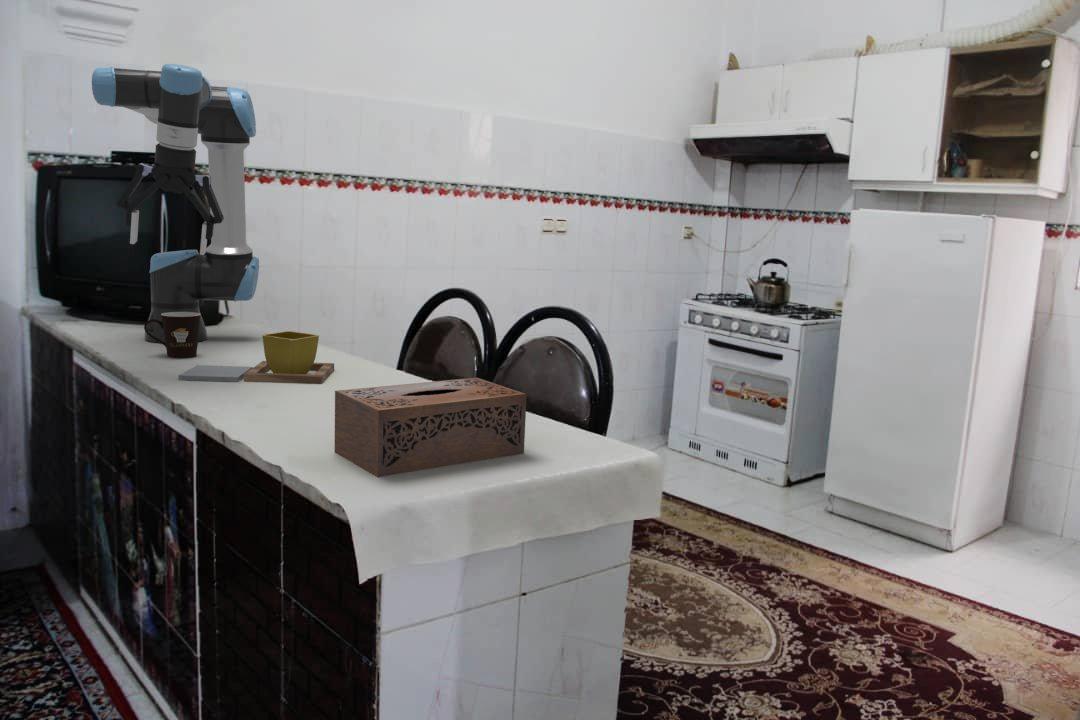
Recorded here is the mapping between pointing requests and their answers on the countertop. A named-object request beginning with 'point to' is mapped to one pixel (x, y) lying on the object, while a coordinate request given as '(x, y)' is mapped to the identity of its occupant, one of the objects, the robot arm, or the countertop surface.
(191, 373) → the mat
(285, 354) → the flower pot
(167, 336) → the coffee mug
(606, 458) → the countertop surface
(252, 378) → the board
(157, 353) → the countertop surface
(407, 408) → the tissue box cover
